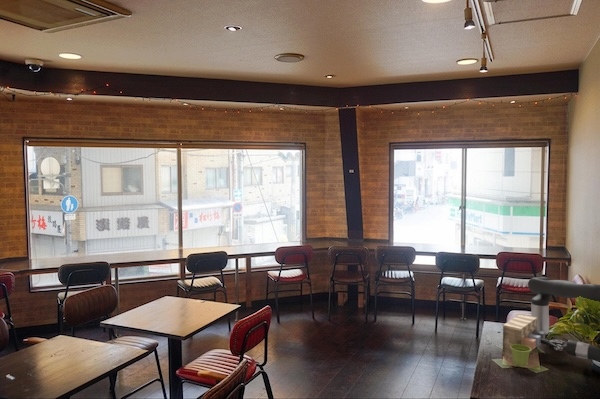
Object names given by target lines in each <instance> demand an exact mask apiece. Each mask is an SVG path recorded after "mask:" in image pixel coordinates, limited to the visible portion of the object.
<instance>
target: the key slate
mask: <svg viewBox="0 0 600 399" xmlns="http://www.w3.org/2000/svg"><path fill="white" fill-rule="evenodd" d="M528 338H531V339H536V345H537V346H539V345H541V343H540V340H541V336H539V335H535V334H528Z"/></svg>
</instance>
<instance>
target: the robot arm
mask: <svg viewBox="0 0 600 399" xmlns="http://www.w3.org/2000/svg"><path fill="white" fill-rule="evenodd" d="M527 287H528V290H529V291H531V292H532V293H534V294H536V295H535V296H534V297H532V298H531V302H530V303H531V306H530V307H531V308H530V309H531V312H530V313H531V314H530V316H532V317H537V331H542V332H545V336H546V335H548V334H549V332H550V316H549V311H550V308H549V306H550V301H551V295H552V296H555V297H559V298H566V299H578V298H577V297H579V296H581V297H583V298H587V299H590V300H594V301H599V302H600V284H597V283H583V284H582V283H576V282H574V281H571V280H566V279H565V280H564V279H552V280H550V278H548V277H546V276H536V277H535V276H534V277H532V278H530V279H528V282H527ZM540 345H546V346H548V348H549V349H551V350H553V351H555V352H558V350H559V351H563V352H564V351H565V352H566V355H567V356H571V357H576V358H580V359H585V360H591V361H595V362H600V349H599V348H598V347H596V346H597V345H593V344H589V343H585V342H582V341H579V340H577V341H576V340H573V339H568V340H567V341H565V339H564V338H563V339H560V338H558V339H557V338H555V339H554V338H552V339H546V338H545V339H541V340H540Z"/></svg>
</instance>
